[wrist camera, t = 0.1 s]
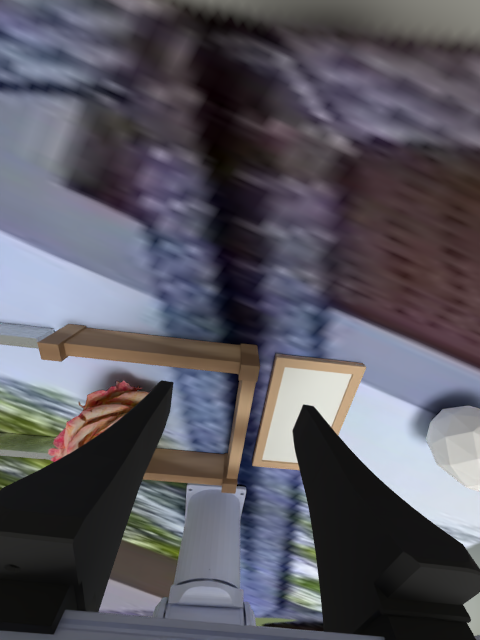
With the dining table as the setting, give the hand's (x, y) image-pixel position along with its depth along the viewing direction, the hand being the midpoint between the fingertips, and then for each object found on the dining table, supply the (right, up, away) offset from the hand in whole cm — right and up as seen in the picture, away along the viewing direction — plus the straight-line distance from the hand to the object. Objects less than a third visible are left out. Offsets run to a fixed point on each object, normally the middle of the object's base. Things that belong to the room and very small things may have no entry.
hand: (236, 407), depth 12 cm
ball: (+24, -6, +14) cm, 28 cm away
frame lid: (+7, -6, +14) cm, 17 cm away
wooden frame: (-8, -5, +13) cm, 16 cm away
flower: (-12, -4, +13) cm, 18 cm away
